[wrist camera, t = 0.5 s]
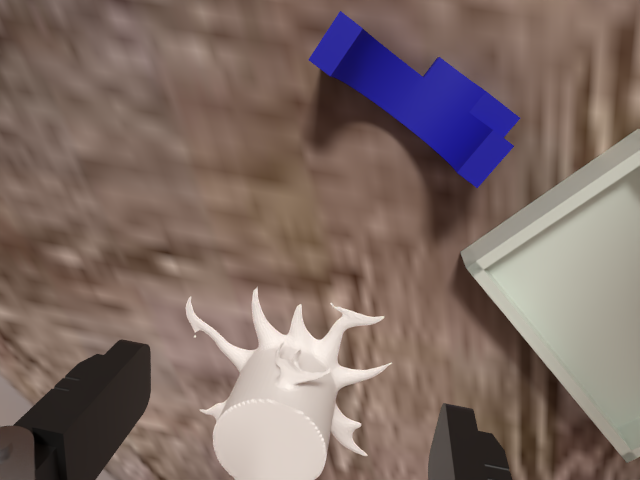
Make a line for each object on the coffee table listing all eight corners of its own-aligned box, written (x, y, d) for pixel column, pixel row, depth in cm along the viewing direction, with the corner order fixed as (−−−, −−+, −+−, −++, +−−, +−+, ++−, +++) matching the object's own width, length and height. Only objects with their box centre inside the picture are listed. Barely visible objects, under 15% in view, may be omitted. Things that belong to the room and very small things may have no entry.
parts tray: (637, 128, 32) (661, 135, 29) (789, 344, 35) (824, 369, 32) (460, 252, 36) (466, 268, 33) (610, 434, 39) (626, 462, 36)
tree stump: (444, 324, 39) (457, 388, 31) (356, 497, 45) (349, 584, 38) (204, 234, 39) (158, 275, 31) (152, 419, 46) (105, 490, 38)
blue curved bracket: (509, 113, 33) (533, 123, 27) (463, 167, 34) (477, 188, 29) (363, -1, 32) (357, -15, 26) (322, 60, 33) (308, 59, 28)
